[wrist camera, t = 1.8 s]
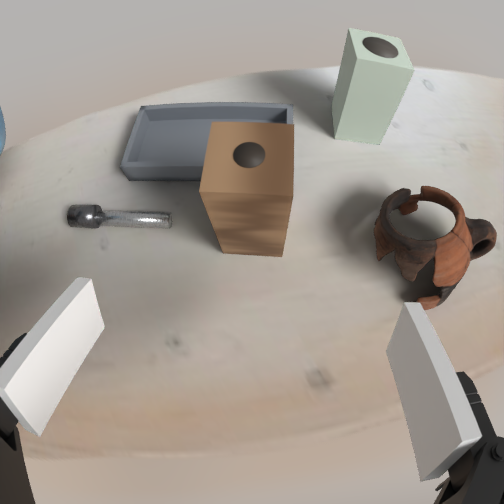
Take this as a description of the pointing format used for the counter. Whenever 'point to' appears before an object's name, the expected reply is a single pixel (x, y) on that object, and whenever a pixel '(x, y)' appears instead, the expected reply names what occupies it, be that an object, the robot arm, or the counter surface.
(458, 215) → the pottery mug
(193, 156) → the slate tray
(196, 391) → the counter surface
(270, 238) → the walnut block
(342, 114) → the sage block
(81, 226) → the rod
